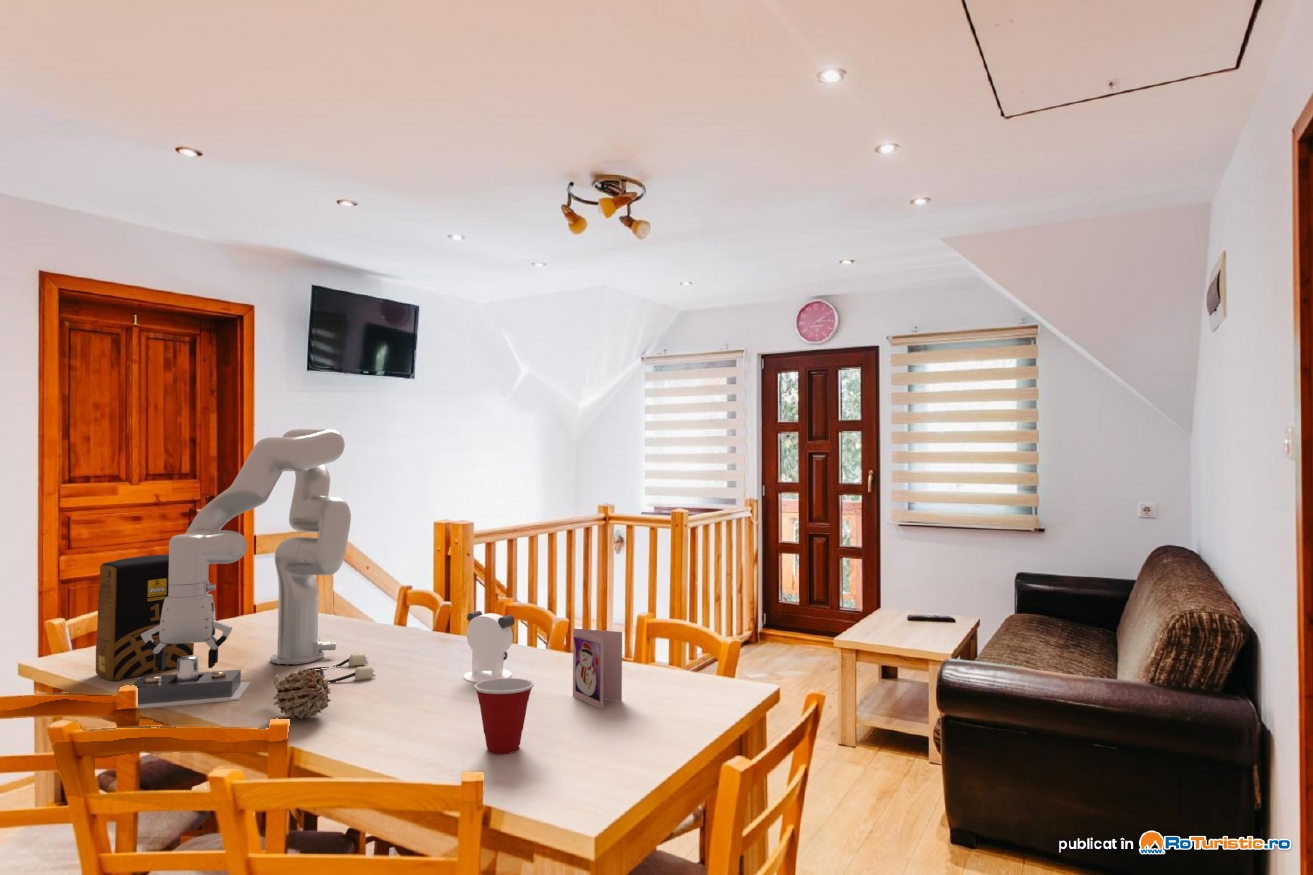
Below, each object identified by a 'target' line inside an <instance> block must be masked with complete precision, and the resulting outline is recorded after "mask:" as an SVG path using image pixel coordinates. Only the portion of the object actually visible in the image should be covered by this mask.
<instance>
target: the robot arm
mask: <svg viewBox="0 0 1313 875" xmlns="http://www.w3.org/2000/svg"><path fill="white" fill-rule="evenodd" d="M345 444H346V443H345V439H344V437H343V435H342V434H341V433H340V432H338V431H337V430H335V429H329V428H297V429H291V430H289V431H286V432H285V433H284V434H283V435H282V437H280V436H277V437H275V436H273V437H266V438H262V439H261V440H259V441H258V442H256V444H255V445H254V446H253V447H252V450H251V451H250V453H249V455H248V457H247V458H246V460H245V462H244V464H242V467H241V469H240V470H239V471H238V474H237V476H236V477H235V479H234V480H233V482H232V484H231V485H230V486H229V487H228V488H227V489H225V490H224V491H222V492H221V493H220V494H218V495H217V496H216V497H215V498H213V499H212V500H211V501H209V502H208V503H207V504H206V505H205V506H203V507H202V508H201V509H200V510H199V512H198V513H197V514H196V515H195V517H194V519H193V520H192V522H191V523H190V525H189V526H188V528H187V529H186V532H185V533H184V534H183V533H182V534H181V533H180V534H176V535H174V536H172V537H171V538H170V539H169V542H168V543H169V544H168V554H169V576H168V583H169V584H168V597H166V598H165V600H164V603H163V608H162V613H161V620H160V624H159V625H157V626H155V627H153V628H151V629H149V630H147V631H145V632H144V633H142V634H141V637H142V638H143V640H144V642H145V643H146V646H147V647H149V648H150V649H151V650H152V651H153V653H155V667H158V672H157V673H162V672H163V670H164V669H165V668H166V651H165V650H164V647H165V646H166V645H167V644H182V643H194V644H196V643H205V644H207V645H206V646H208V647H209V650H208V654H207V655H208V658H207V659H208V661H207V662H208V663H207V668H209V669H213V668H214V666H215V665H216V664H217V663H218V661H219V647H220V646H221V645H223V643H224V642H226V641H227V639H228V637H229V636H230V634H231V632H232V630H233V627H232V626H230V625H228V624H225V623H223V622H221V621H218V620H216V609H215V601H214V598H213V597H214V596H213V594H211V593H210V592H212V591H215V590H216V584H215V583H211V582H210V580H209V571H210V570H209V568H210V567H209V566H210V565H213V564H218V565H219V564H222V565H224V564H232V563H235V562H238V561H239V560H240V559H242V558H243V557H244V555H246V552H247V551H248V541H247V539H246V538H245V537H244V535H243V534H241V533H240V532H238V531H234V530H227V529H224V530H223V527H224V526H225V525H226V524H227V523H228V522H230V521H231V520H232V519H233V518H236V517H237V516H238V515H241V514H243V513H246V512H248V511H250V510H253V509H255V508H258V507H260V506H261V505H263V504H265V503H266V502H267V501H268V499H269V497H270V496H271V494H272V491H273V489H274V488H275V486H276V484H277V482H278V481H279V479H280V477H281V475H282V474H283V472H294V474H295V482H294V488H293V495H292V499H291V505H290V509H289V514H288V515H289V516H288V523H289V526H290V527H291V528H292V529H293V530H295V531H297V532H301V533H303V532H304V533H315V534H318V536H317V537H312V536H311V537H310V536H307V537H306V536H294V537H288V538H286V539H284V540H282V541H281V542H280V543H279V544H278V545H277V547H276V550H275V551H274V564H275V569H276V570H275V571H276V573H277V580H278V581H277V582H278V583H277V584H278V601H277V603H278V604H277V605H278V607H277V610H278V611H277V613H278V614H277V652H275V653H273V654H272V655H271V656H270V662H271V663H272V664H274V663H277V664H276V665H280V664H286V665H285V666H290V665H289V664H293V665H301V664H300V663H303V664H307V663H311V662H312V661H313V662H315V660H316V661H318V660H317V659H319V660H321V659H322V658H324V656H325V651H336V650H337V649H336V648H337V642H333V641H325V642H323V640H322V641H321V637H320V636H319V594H320V590H319V584H318V581H317V579H316V577H315V576H321V577H323V576H325V577H326V576H331V575H334V574H336V573H337V572H338V571H339V570H340V569H341V567H342V565H343V562H344V560H345V555H346V550H347V544H348V539H349V535H350V534H349V533H350V528H351V527H350V526H351V521H352V514H351V509H350V507H349V504H348V502H346V501H345V500H344V499H342V498H340V497H336V496H335V497H334V496H330V495H329V493H330V487H331V486H330V485H331V475H330V472H329V470H328V468H327V466H326V464H329V463H333V462H334V461H337V460H338V459H339V458H340V457H341V456H342V455H343V452H344V450H345ZM216 630H220V631H221V632H222V634H221V636H220V637H219V638H218V639H217V637H215V635H216ZM158 631H159V640H160V643H159V644H158V643H157V642H156V641H154V640H153V639H152V634H154V633H156V632H158ZM313 662H312V663H313Z"/></svg>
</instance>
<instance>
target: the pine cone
mask: <svg viewBox="0 0 1313 875" xmlns="http://www.w3.org/2000/svg"><path fill="white" fill-rule="evenodd" d="M302 671H303V670H302V669H299V670H298V671H297V672H293V673H292V672H290V674H289V675H288V676H284V679H283V678H282V677H280V676H279V675H278V674H277V673H276V674H275V675H274V676H272V682H273V685H274V687H275V689H276V693H275V696H274V697H272V700H276V701H274V703H273V705H275V706H276V705H277V708H278V709H280V713H281V714H283V713H284V715H285V716H290V715H291V717H292V718H293V719H294V718H295V716H297V715H298V716H299V717H298V716H297V717H298V718H299V719H302V718H304V717H305V718H306V719H308V717H311V718H312V717H313V716H314V717H315V716H317V714H318V713H319V714H321V713H322V711H324V709H326V708H328V706H329V702H331V701H332V699H330V698H329V694H332V693H333V692H331V691H332V689H331V688H330V687H329V685H330V684H331V683H328V681H329V680H330V679H327V678H325V677H326V675H325V674H323V676H321V675H320V672H316V670H315V669H312V670H311V671H309V670H306V671H305V672H302Z"/></svg>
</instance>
